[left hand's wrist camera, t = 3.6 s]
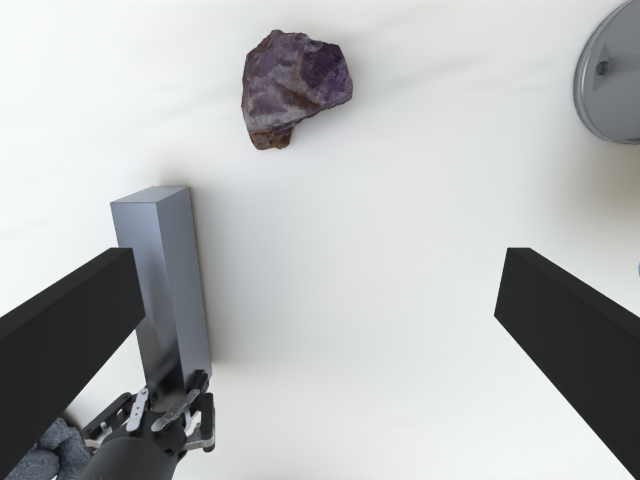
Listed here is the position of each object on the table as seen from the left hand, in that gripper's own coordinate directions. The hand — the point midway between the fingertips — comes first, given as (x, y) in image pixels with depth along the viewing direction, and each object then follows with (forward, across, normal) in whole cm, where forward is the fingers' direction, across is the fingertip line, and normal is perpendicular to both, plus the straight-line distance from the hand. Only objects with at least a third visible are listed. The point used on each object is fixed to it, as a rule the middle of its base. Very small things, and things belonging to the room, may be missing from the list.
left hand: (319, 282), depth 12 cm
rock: (+31, -3, +8) cm, 32 cm away
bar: (+29, -18, -16) cm, 38 cm away
